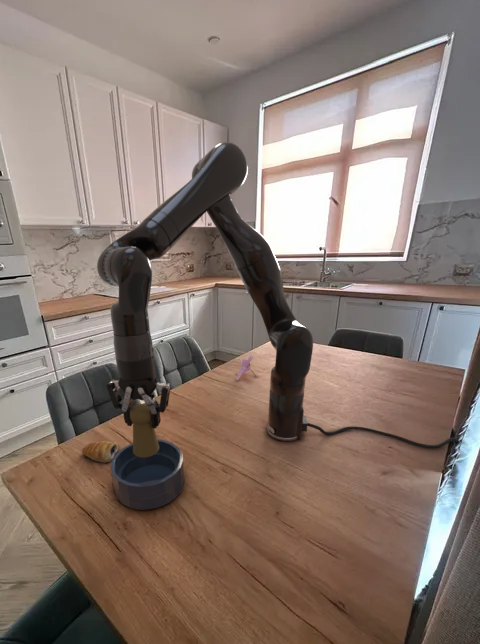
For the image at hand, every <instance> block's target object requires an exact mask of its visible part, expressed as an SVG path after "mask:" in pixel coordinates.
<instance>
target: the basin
mask: <svg viewBox="0 0 480 644" xmlns="http://www.w3.org/2000/svg"><path fill="white" fill-rule="evenodd" d="M157 440H158V444H159V450H158V452H157V453H156V454H154V455H152V456H150V457H138V456H136V455H135V454H134V453H133V442H131V443H130V444H127V445H126V446H124V447H122V448H121V449H120V450H118V451H117V452H116V453H115V454H114V457H113V458H112V460H111V461H110V462H111V463H110V466H109V469H110V473H111V480H112V485H113V490H114V494H115V498H116V499H117V500H118V501H119V502H120V503H121V504H122V505H124V506H126V507H127V508H130V509H134V510H142V511H145V510H155V509H158V508H161V507H163V506H166V505H168V504H170V503H171V502H172V501H174V500H175V499H176V498H177V497H179V495H180V493H181V492H182V490H183V488H184V485H185V482H186V481H185V468H184V455H183V452H182V451H181V449H180V447H178V446H177V445H176V444H174V443H173V442H171V441H169V440H165V439H158V438H157Z"/></svg>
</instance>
